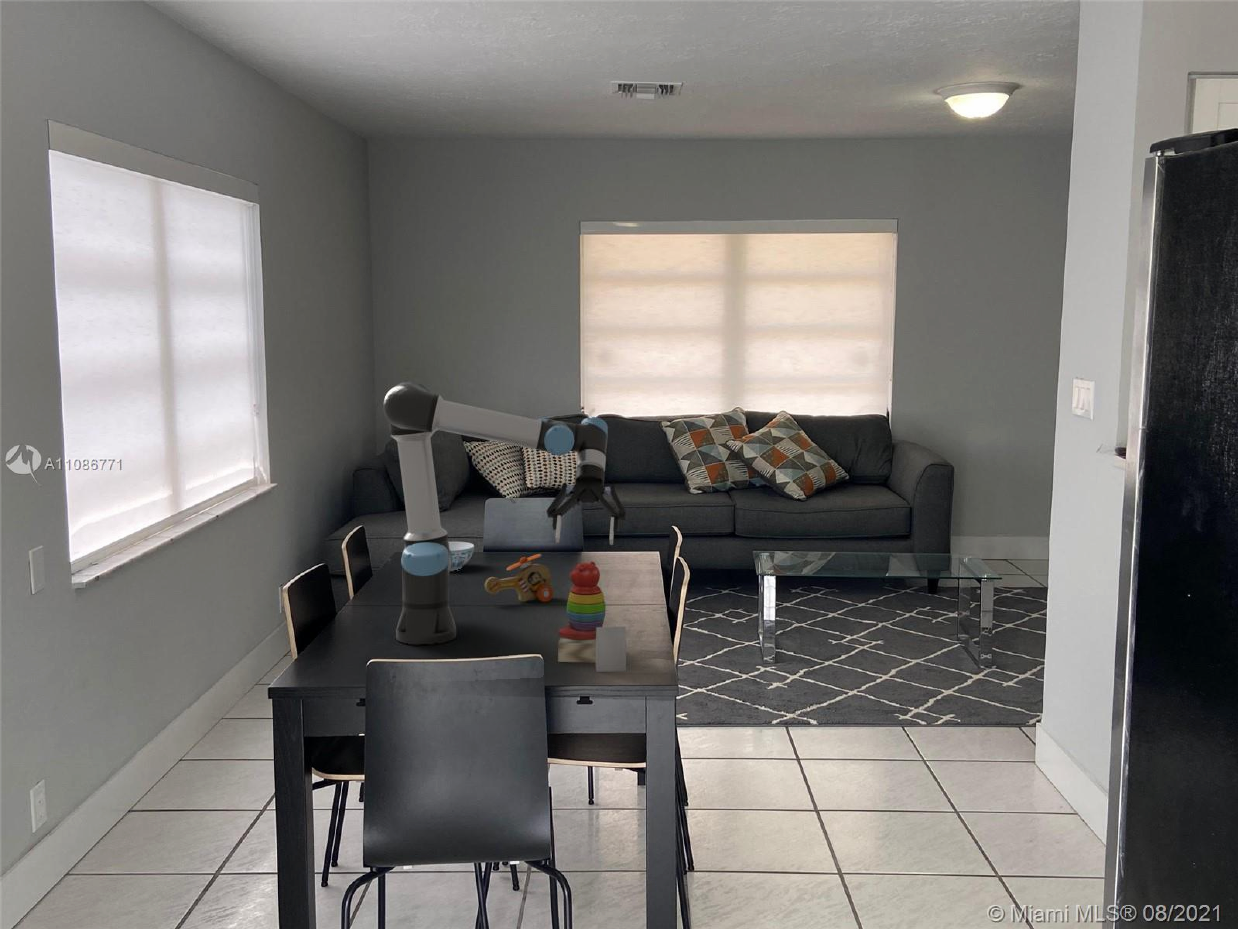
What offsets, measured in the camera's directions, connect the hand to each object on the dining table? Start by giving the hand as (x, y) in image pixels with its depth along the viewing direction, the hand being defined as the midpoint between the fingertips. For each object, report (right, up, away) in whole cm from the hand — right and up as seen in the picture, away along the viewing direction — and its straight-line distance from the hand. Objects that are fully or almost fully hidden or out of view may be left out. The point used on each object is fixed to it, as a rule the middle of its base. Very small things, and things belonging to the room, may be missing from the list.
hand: (584, 541), depth 273 cm
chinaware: (-47, -15, +86) cm, 99 cm away
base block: (+1, -27, -9) cm, 28 cm away
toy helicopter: (-19, -21, +43) cm, 52 cm away
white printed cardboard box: (+7, -28, -20) cm, 36 cm away
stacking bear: (+1, -22, -10) cm, 24 cm away
